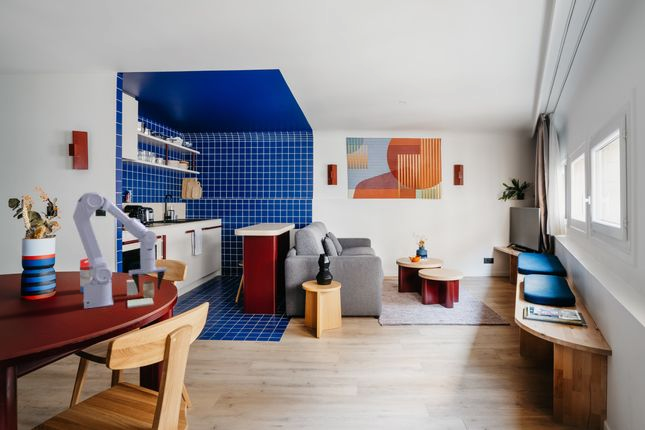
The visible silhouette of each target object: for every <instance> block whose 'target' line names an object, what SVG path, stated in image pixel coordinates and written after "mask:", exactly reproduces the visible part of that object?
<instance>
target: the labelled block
mask: <svg viewBox="0 0 645 430" xmlns="http://www.w3.org/2000/svg"><path fill="white" fill-rule="evenodd" d="M142 296H143V297H144V298H143V299H145V298H150V297H151V298H155V283H154V281H152V280H151V281H144V282H142Z"/></svg>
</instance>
